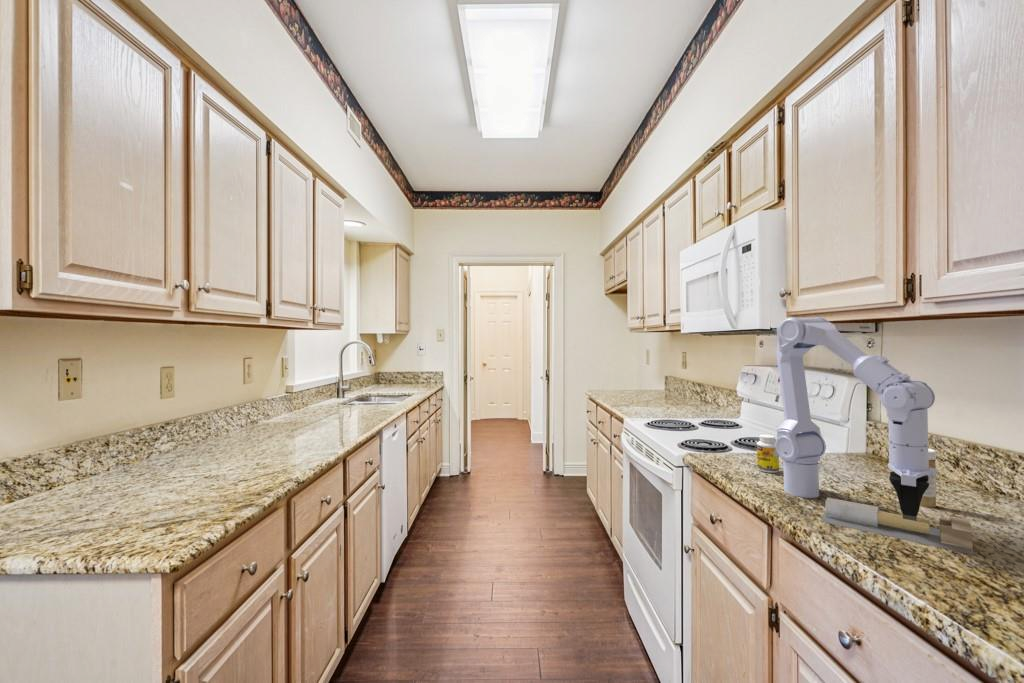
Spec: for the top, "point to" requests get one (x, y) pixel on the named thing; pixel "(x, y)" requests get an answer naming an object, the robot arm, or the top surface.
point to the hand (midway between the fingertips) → (909, 513)
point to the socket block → (956, 532)
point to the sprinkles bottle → (930, 483)
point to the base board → (900, 533)
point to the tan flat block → (903, 522)
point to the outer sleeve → (852, 512)
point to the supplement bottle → (767, 454)
